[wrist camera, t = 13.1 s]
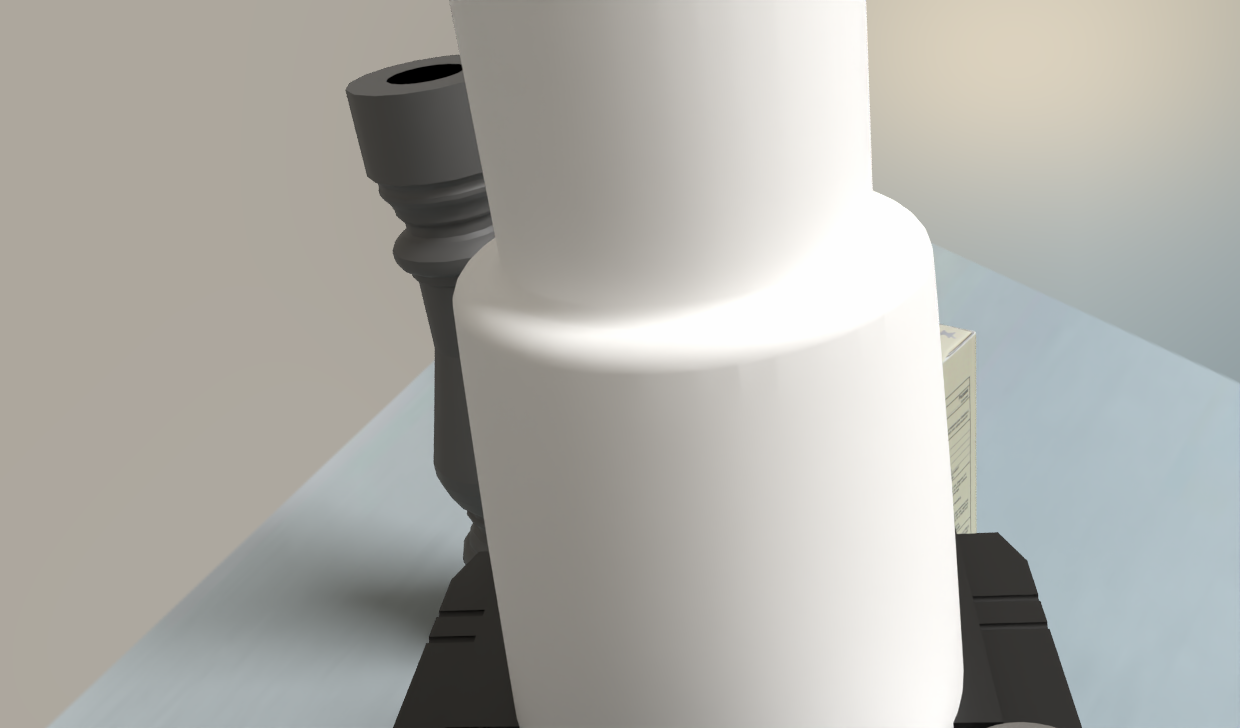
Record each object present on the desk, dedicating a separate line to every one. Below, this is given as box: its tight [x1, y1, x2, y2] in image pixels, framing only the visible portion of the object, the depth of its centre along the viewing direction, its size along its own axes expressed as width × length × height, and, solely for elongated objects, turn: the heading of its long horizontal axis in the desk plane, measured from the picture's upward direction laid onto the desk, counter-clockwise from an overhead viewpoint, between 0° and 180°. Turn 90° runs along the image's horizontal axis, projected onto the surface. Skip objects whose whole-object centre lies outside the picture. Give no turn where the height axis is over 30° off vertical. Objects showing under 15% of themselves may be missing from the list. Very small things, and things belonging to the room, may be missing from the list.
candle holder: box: [346, 55, 495, 564], centre depth 45 cm, size 6×6×25 cm
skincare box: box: [939, 324, 976, 534], centre depth 46 cm, size 6×4×12 cm
